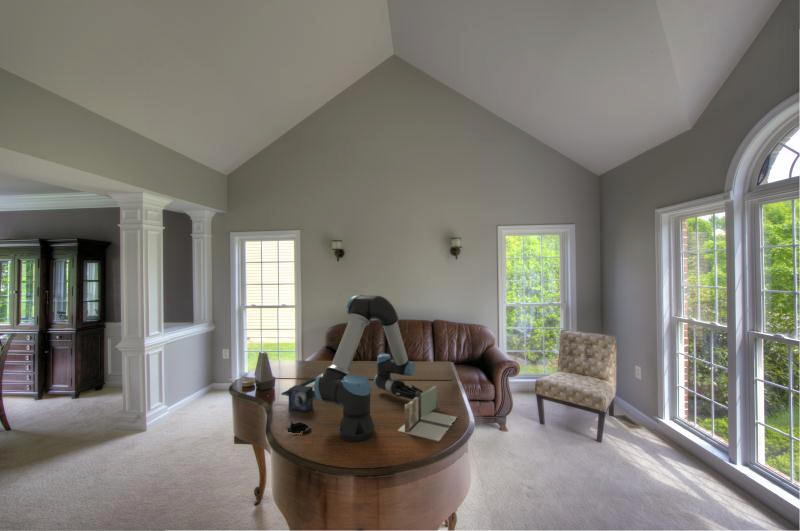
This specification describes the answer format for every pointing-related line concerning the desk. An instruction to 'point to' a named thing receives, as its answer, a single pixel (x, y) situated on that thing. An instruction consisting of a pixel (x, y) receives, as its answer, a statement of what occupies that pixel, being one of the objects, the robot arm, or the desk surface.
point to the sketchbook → (308, 383)
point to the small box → (300, 398)
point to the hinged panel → (428, 401)
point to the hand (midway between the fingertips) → (428, 399)
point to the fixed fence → (412, 412)
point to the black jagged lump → (298, 428)
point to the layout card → (431, 426)
